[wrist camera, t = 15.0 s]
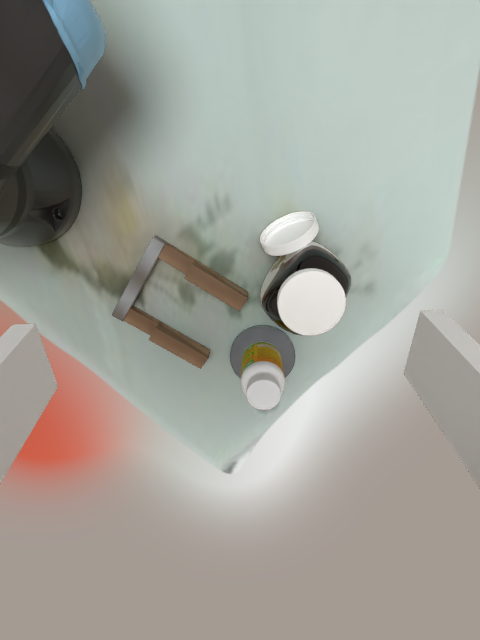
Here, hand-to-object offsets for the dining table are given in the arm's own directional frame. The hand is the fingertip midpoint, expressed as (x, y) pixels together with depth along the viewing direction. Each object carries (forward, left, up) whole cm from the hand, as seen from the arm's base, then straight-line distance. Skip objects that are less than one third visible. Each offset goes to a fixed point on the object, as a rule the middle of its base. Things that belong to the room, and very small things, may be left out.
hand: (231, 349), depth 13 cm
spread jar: (+5, -5, -35) cm, 36 cm away
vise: (-11, -7, -35) cm, 37 cm away
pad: (-2, -17, -35) cm, 39 cm away
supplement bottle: (-2, -17, -34) cm, 38 cm away
